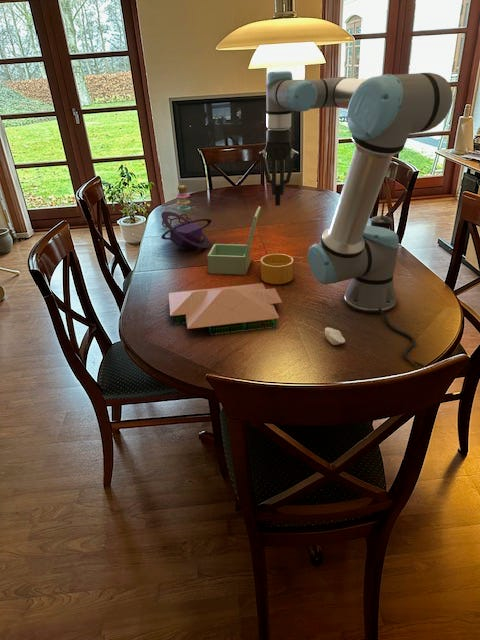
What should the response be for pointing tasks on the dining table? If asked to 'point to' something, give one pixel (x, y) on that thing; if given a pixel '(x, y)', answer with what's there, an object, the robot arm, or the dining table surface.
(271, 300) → the house
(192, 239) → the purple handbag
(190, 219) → the glasses
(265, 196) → the dining table surface
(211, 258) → the chest
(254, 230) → the chest lid
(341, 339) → the white rock
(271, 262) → the bowl
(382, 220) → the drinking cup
